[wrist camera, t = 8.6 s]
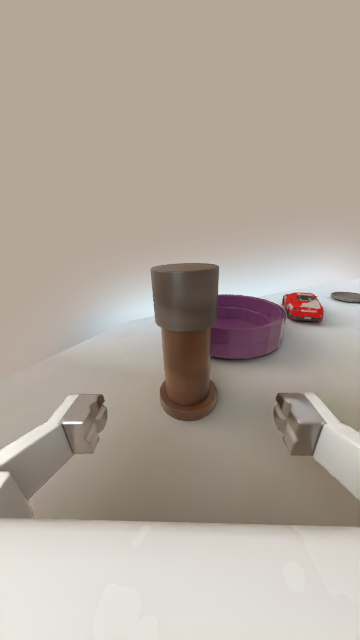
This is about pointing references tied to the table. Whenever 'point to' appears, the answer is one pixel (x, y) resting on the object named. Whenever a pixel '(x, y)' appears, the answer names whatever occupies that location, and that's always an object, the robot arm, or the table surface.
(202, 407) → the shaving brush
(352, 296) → the pocket watch
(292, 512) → the table surface
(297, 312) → the race car
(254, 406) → the table surface
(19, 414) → the table surface
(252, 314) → the bowl
